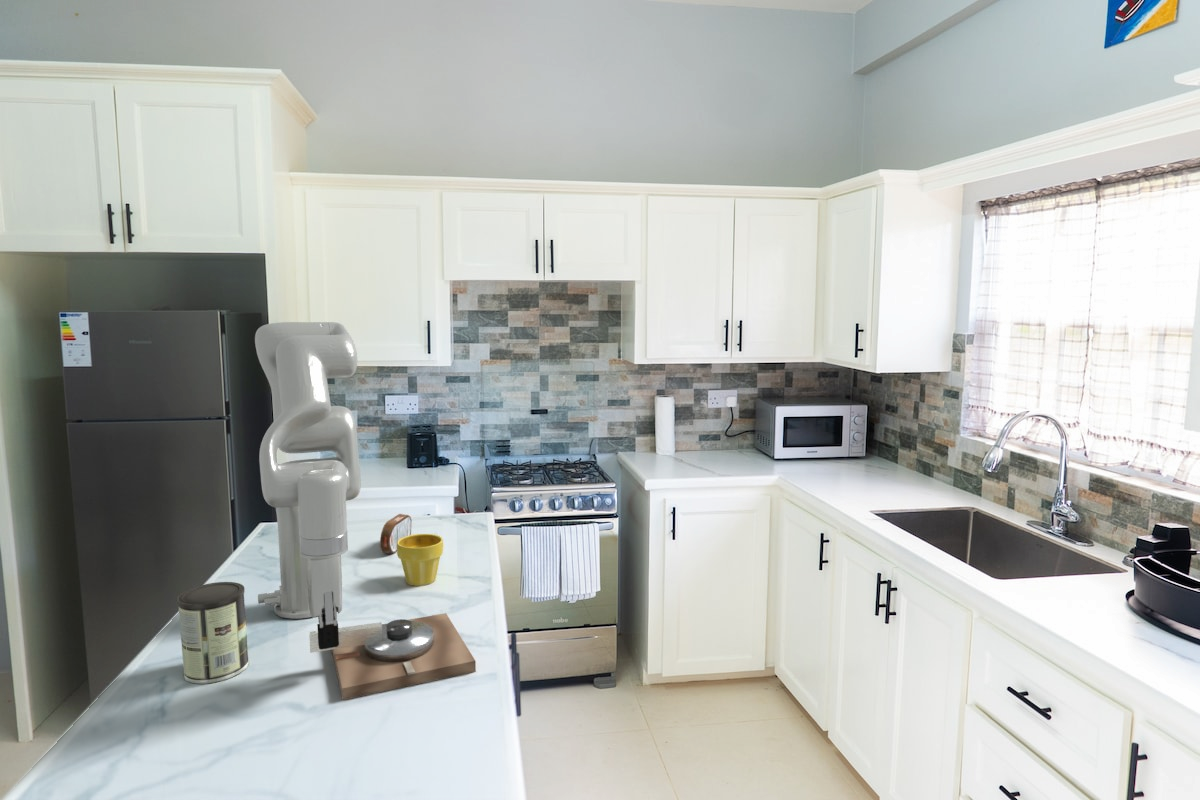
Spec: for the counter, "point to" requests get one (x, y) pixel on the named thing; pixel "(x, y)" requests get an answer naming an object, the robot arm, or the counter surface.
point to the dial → (384, 639)
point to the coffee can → (213, 632)
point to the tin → (394, 532)
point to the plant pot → (420, 557)
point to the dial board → (404, 663)
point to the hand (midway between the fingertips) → (328, 645)
